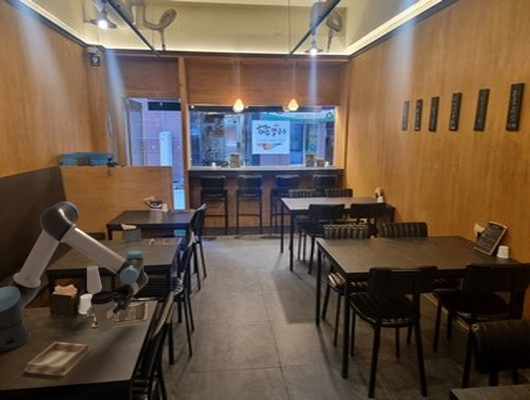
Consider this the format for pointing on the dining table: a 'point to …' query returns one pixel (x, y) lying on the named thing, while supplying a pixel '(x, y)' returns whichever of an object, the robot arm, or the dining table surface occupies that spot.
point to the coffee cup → (103, 309)
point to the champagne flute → (93, 281)
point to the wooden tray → (58, 359)
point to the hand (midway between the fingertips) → (97, 314)
